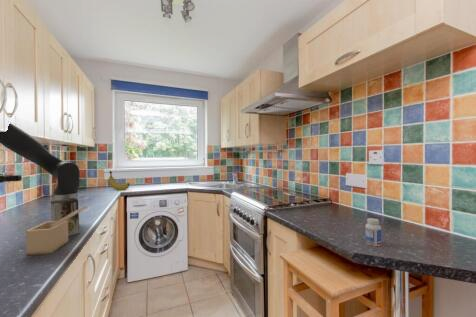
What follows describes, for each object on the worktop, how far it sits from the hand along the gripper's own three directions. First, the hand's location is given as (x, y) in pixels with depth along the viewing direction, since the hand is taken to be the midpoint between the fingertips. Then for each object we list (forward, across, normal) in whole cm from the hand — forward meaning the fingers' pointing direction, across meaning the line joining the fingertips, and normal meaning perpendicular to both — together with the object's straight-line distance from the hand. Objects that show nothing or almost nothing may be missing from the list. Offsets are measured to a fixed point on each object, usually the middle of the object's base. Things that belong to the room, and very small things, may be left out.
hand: (20, 178), depth 84 cm
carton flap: (+13, 0, +18) cm, 22 cm away
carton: (+9, 0, +28) cm, 29 cm away
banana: (-13, +146, +28) cm, 149 cm away
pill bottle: (+136, -22, +28) cm, 141 cm away
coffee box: (+7, +15, +28) cm, 33 cm away
